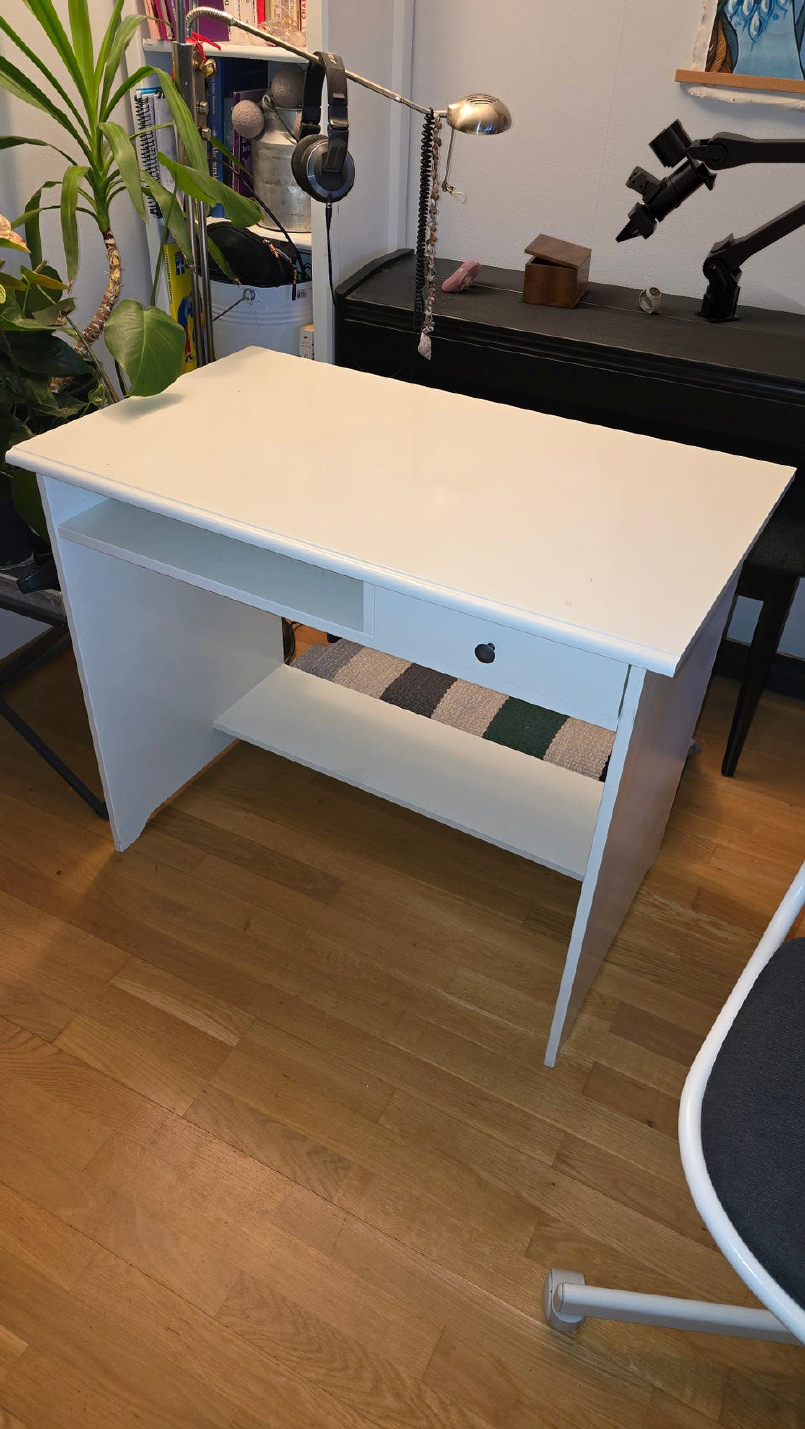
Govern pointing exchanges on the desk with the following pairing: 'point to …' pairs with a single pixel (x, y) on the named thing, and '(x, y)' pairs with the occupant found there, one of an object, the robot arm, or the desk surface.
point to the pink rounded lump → (463, 276)
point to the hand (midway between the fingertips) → (616, 240)
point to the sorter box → (554, 282)
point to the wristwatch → (653, 295)
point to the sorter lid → (558, 251)
